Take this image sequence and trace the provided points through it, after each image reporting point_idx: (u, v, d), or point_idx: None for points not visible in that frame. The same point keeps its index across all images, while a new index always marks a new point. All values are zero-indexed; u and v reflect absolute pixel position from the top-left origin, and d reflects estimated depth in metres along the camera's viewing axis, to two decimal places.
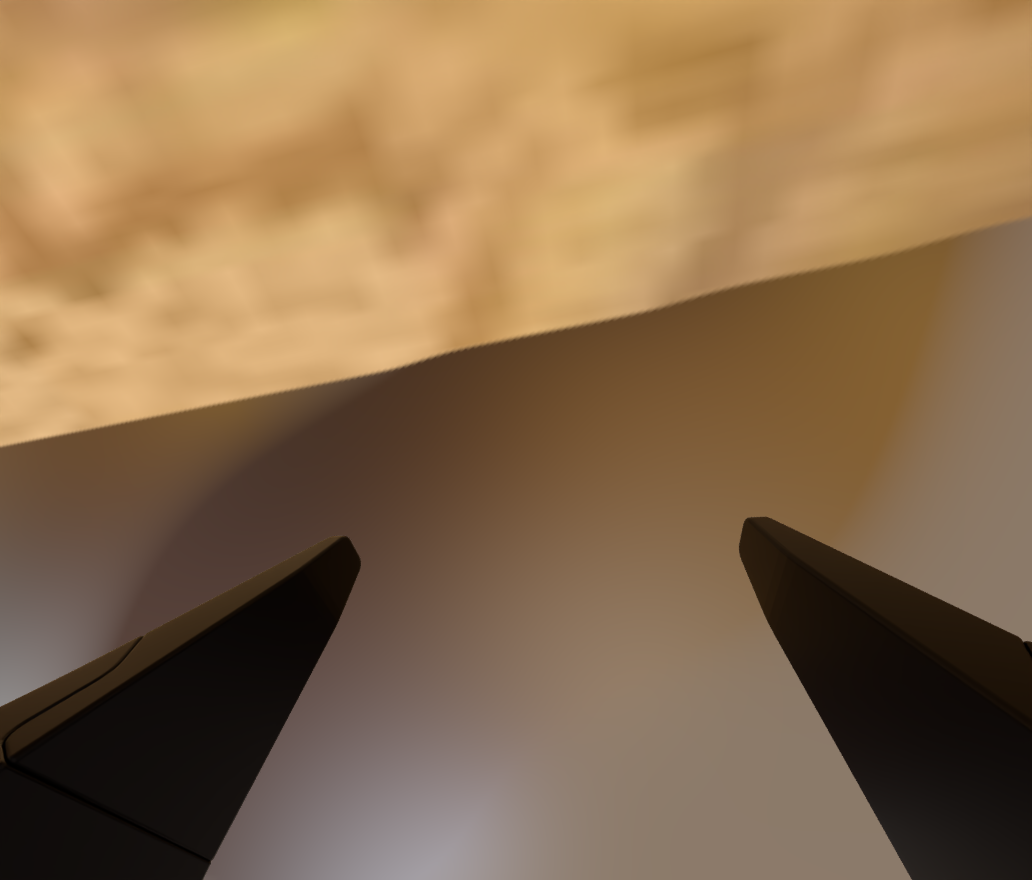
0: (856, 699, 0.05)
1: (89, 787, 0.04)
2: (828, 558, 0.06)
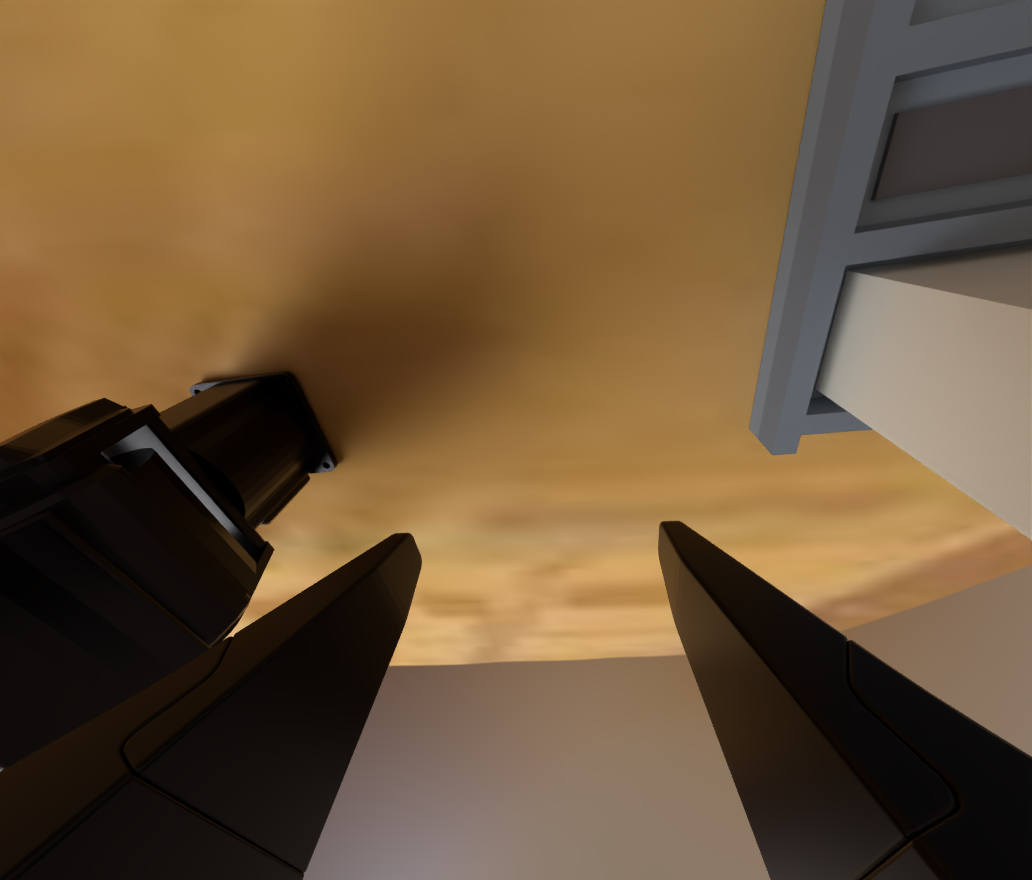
0: (725, 695, 0.05)
1: (203, 798, 0.04)
2: (714, 562, 0.06)
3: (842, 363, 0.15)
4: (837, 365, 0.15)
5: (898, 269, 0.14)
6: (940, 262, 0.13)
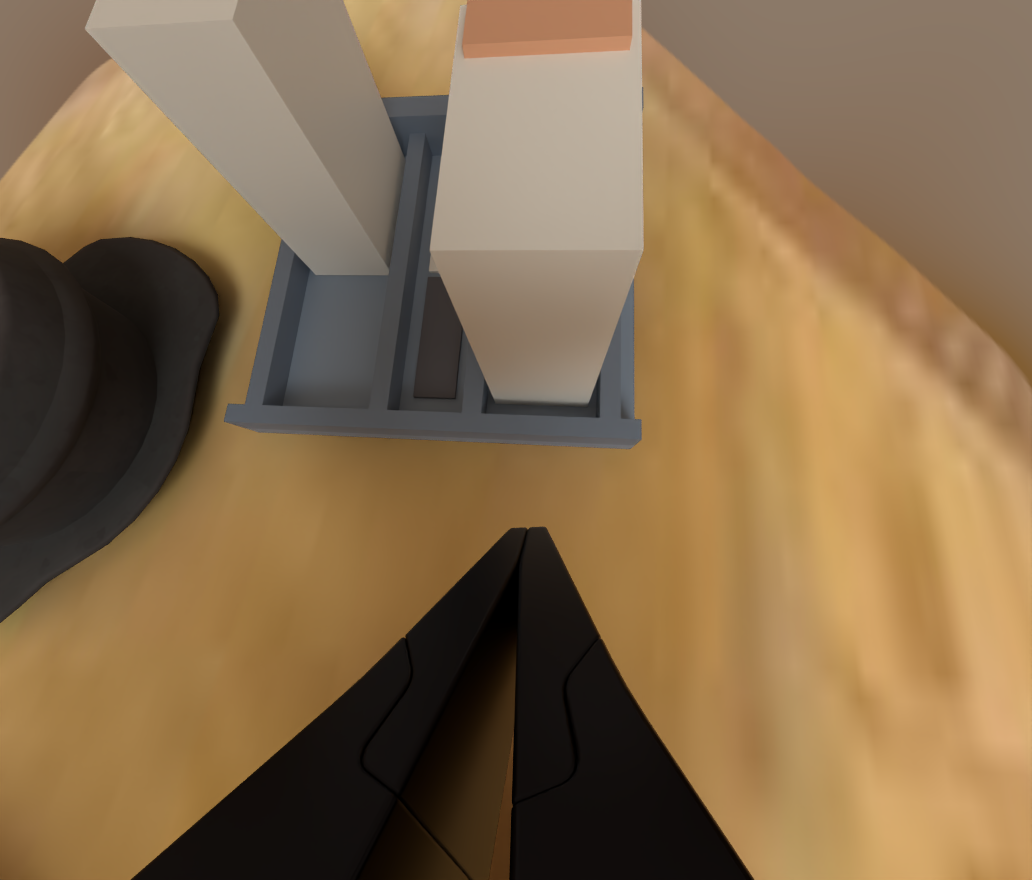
0: None
1: (434, 819, 0.04)
2: (543, 566, 0.06)
3: (557, 398, 0.19)
4: (560, 400, 0.19)
5: None
6: None
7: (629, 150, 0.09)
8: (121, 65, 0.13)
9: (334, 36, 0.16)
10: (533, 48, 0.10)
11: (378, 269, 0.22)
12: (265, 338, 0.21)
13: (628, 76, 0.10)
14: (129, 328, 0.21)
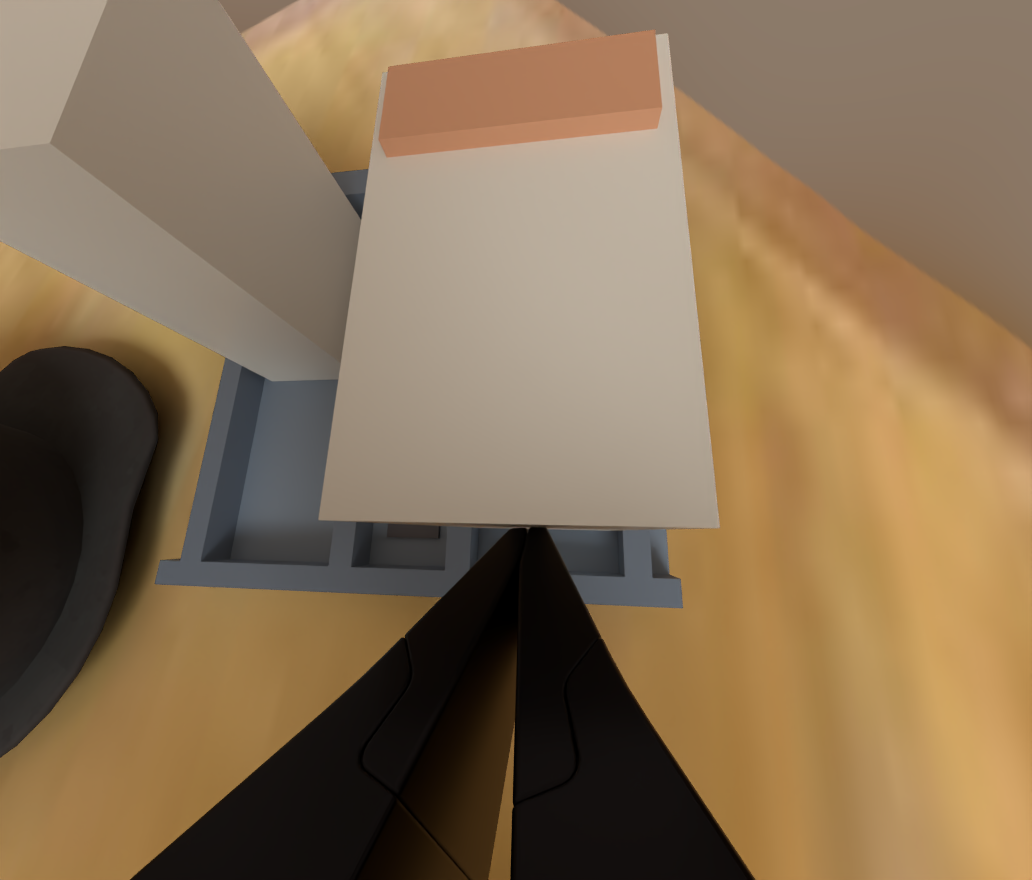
0: None
1: (433, 820, 0.04)
2: (543, 566, 0.06)
3: None
4: None
5: None
6: None
7: (673, 314, 0.05)
8: None
9: (255, 123, 0.13)
10: (495, 137, 0.06)
11: None
12: (206, 472, 0.17)
13: (659, 174, 0.06)
14: (48, 467, 0.18)
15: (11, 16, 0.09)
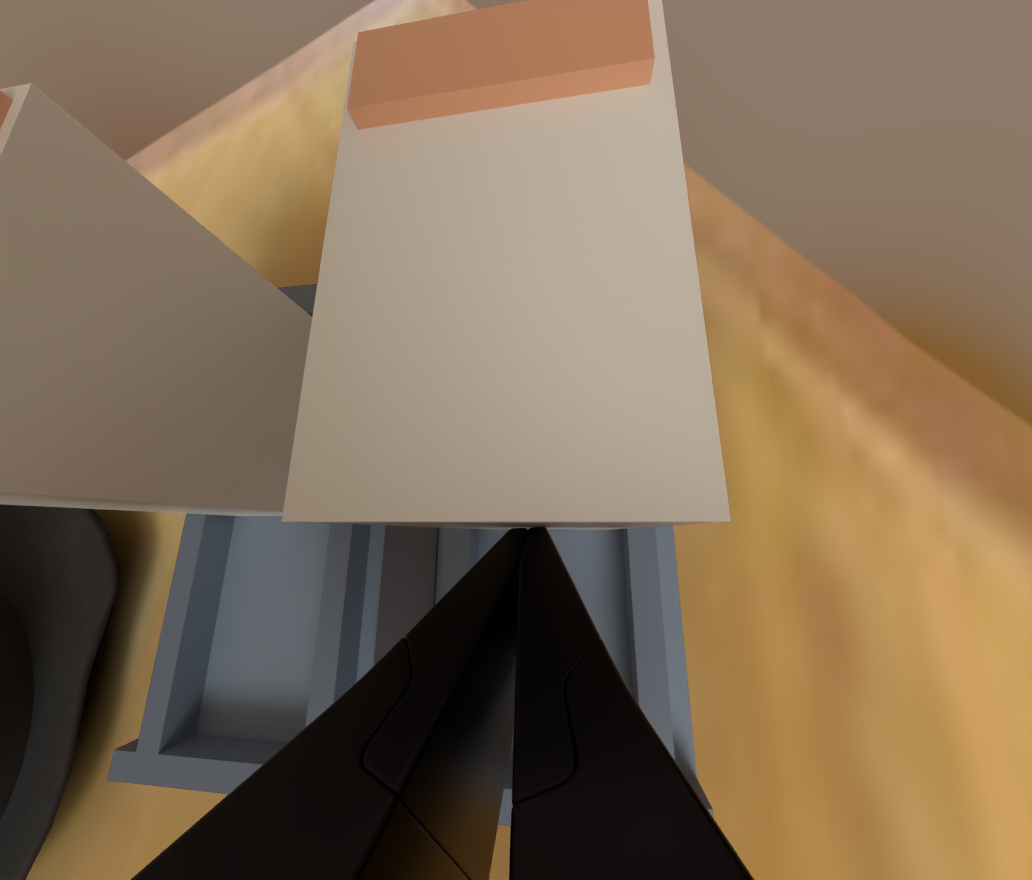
0: None
1: (434, 820, 0.04)
2: (543, 566, 0.06)
3: None
4: None
5: None
6: None
7: (671, 283, 0.04)
8: None
9: (194, 296, 0.11)
10: (473, 101, 0.05)
11: None
12: (166, 641, 0.15)
13: (653, 133, 0.05)
14: None
15: None
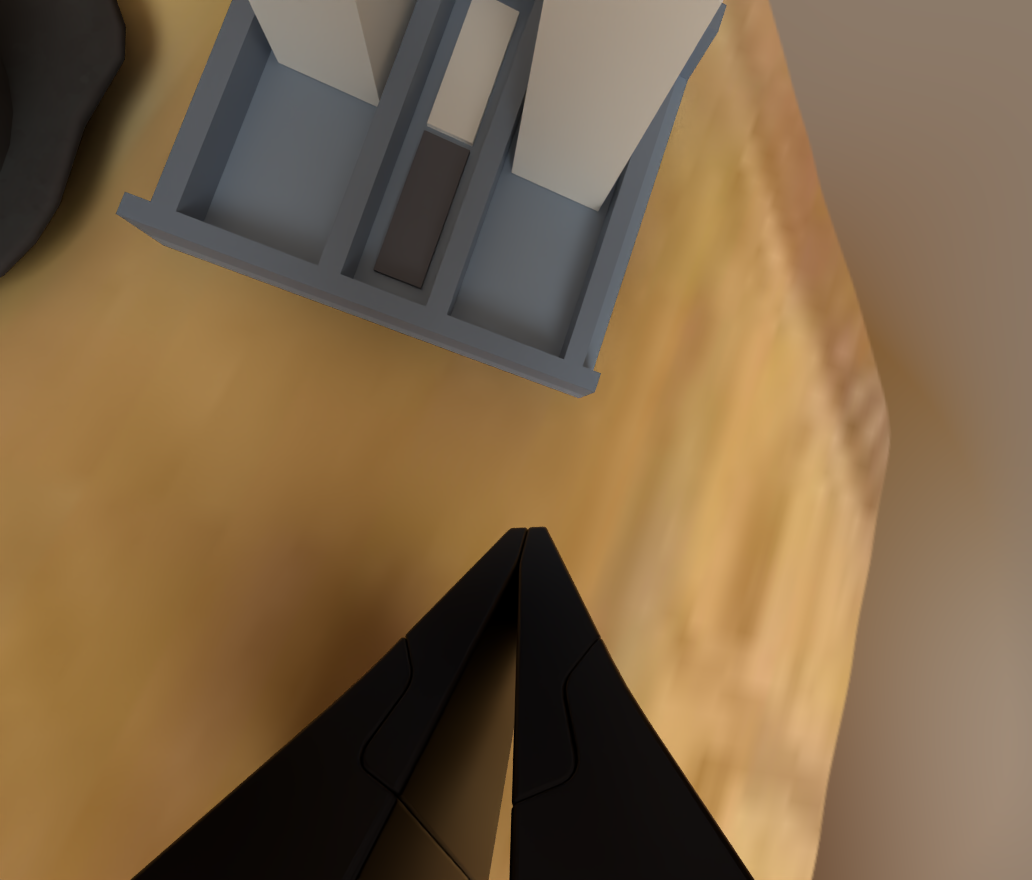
0: None
1: (434, 820, 0.04)
2: (543, 566, 0.06)
3: (577, 183, 0.19)
4: (578, 188, 0.19)
5: None
6: None
7: None
8: None
9: None
10: None
11: (365, 92, 0.18)
12: (193, 122, 0.16)
13: None
14: None
15: None
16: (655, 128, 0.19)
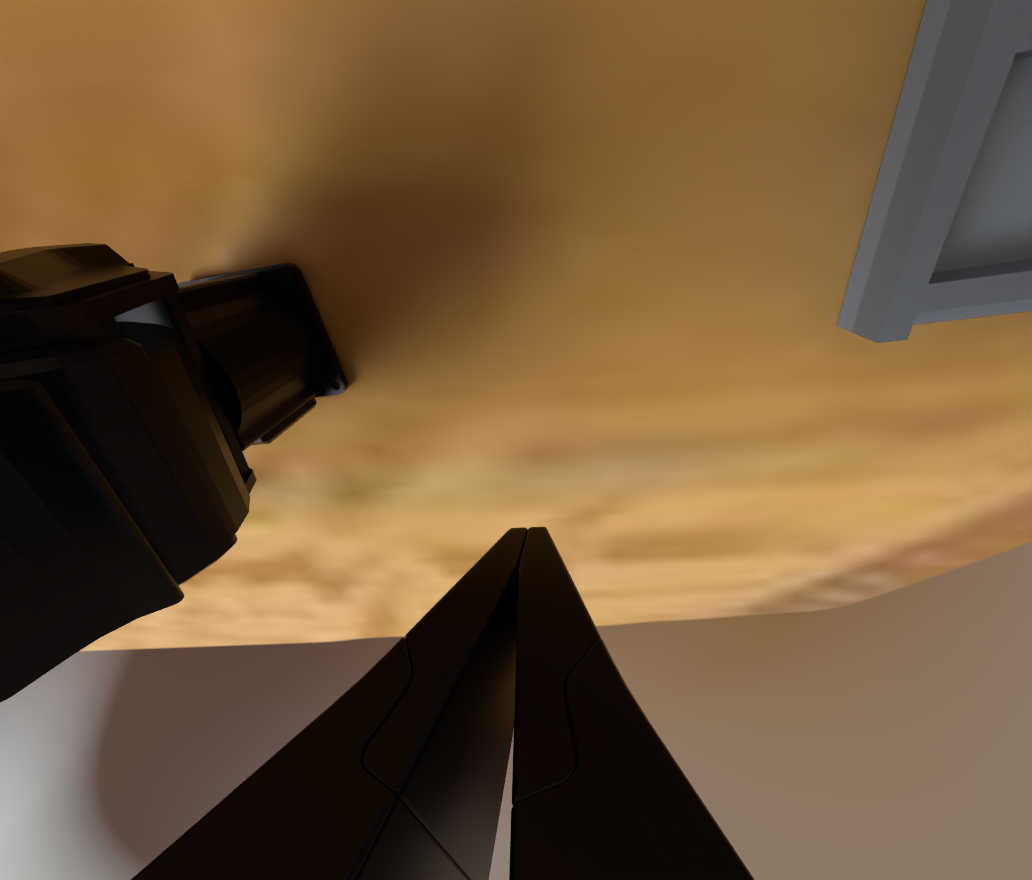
0: None
1: (434, 818, 0.04)
2: (543, 566, 0.06)
3: None
4: None
5: None
6: None
7: None
8: None
9: None
10: None
11: None
12: None
13: None
14: None
15: None
16: None
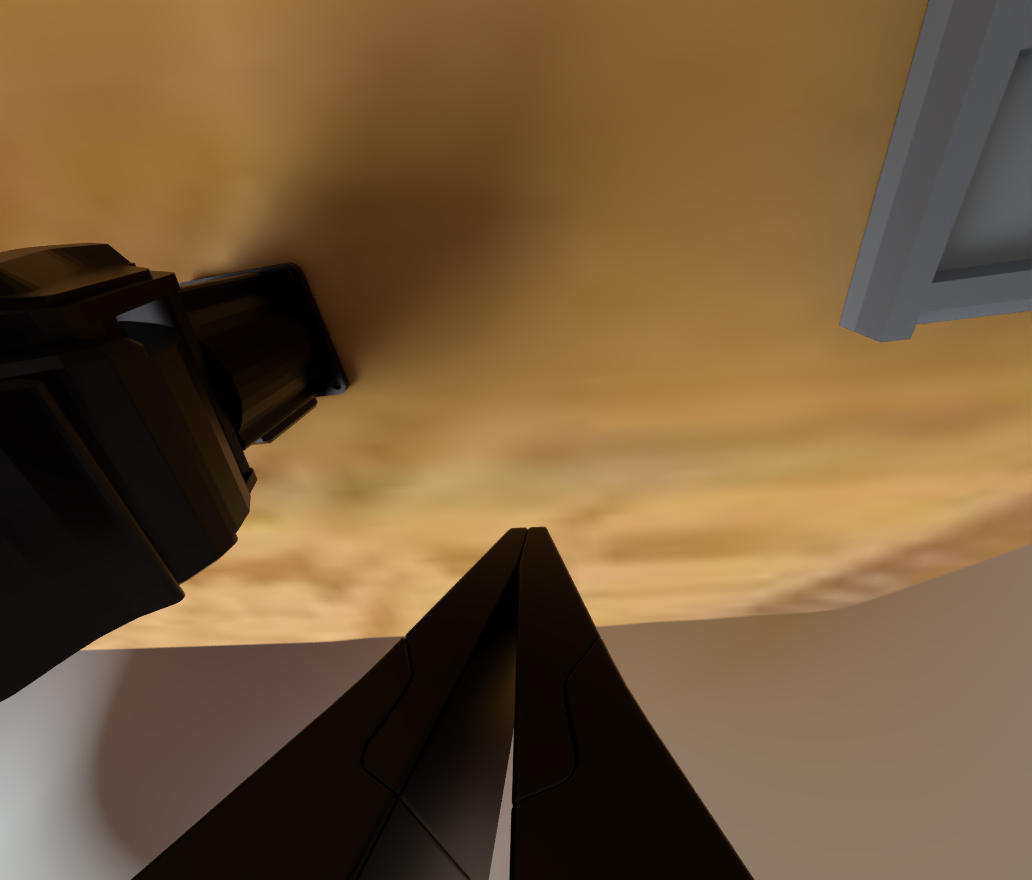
0: None
1: (434, 820, 0.04)
2: (543, 566, 0.06)
3: None
4: None
5: None
6: None
7: None
8: None
9: None
10: None
11: None
12: None
13: None
14: None
15: None
16: None
